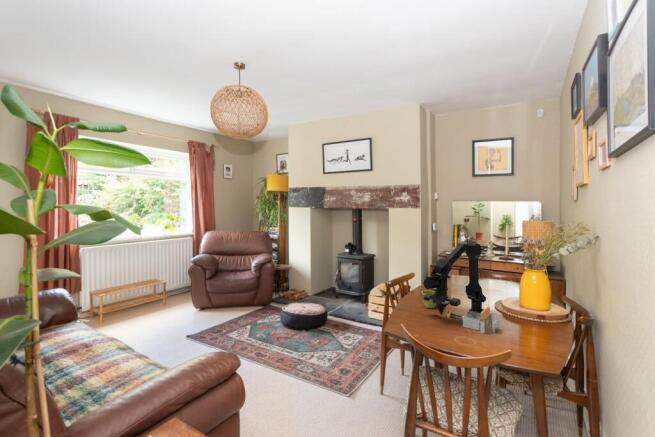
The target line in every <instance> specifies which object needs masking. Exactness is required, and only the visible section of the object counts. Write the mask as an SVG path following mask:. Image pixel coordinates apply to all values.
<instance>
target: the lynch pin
mask: <svg viewBox="0 0 655 437" xmlns="http://www.w3.org/2000/svg"><path fill="white" fill-rule="evenodd" d="M463 316H464V314H463V315H461V314H456V313H453V311H452V310H448V311H447V314H446V318H447V320H452V319H455V320H459V321H462V322H463Z"/></svg>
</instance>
